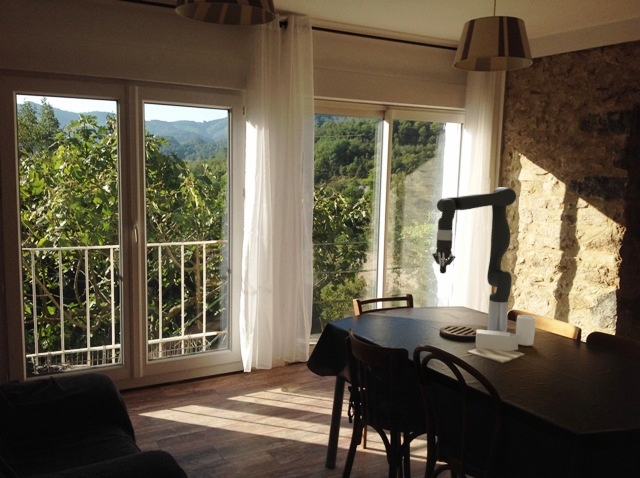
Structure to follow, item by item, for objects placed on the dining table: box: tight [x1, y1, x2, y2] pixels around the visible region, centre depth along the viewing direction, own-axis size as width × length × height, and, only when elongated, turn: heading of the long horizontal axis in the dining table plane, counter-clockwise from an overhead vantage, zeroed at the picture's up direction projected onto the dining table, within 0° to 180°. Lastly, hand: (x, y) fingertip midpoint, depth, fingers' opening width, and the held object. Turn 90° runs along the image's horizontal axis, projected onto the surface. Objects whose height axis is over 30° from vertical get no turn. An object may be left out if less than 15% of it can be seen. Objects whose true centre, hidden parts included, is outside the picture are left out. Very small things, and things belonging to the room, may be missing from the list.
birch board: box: [467, 347, 525, 364], centre depth 256 cm, size 18×18×1 cm
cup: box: [515, 314, 536, 346], centre depth 270 cm, size 8×8×14 cm
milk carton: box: [475, 329, 519, 351], centre depth 263 cm, size 7×7×19 cm
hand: (442, 273), depth 280 cm, fingers closed
